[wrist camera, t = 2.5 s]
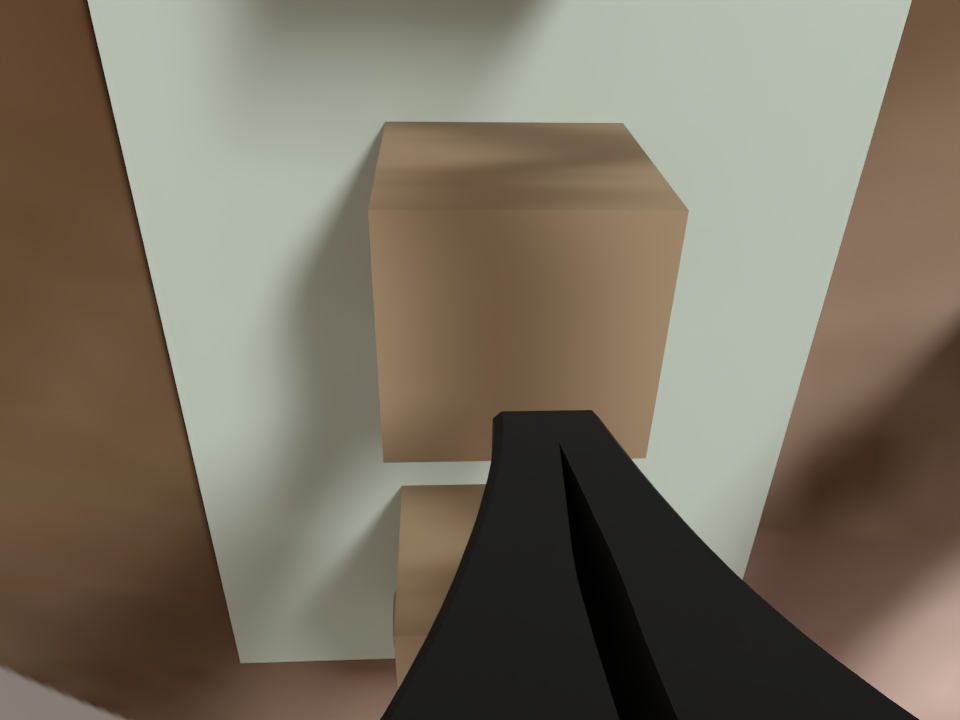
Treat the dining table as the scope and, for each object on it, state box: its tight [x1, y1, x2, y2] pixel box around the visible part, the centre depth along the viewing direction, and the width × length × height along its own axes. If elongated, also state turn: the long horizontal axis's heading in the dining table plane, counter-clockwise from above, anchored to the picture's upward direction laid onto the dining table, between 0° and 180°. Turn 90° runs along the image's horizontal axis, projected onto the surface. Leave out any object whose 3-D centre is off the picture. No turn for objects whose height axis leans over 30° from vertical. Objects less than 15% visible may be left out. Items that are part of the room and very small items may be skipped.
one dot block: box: [393, 484, 486, 691], centre depth 21 cm, size 5×5×5 cm
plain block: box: [368, 122, 689, 463], centre depth 15 cm, size 5×5×5 cm
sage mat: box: [87, 0, 912, 663], centre depth 18 cm, size 16×30×1 cm, turn 179°
